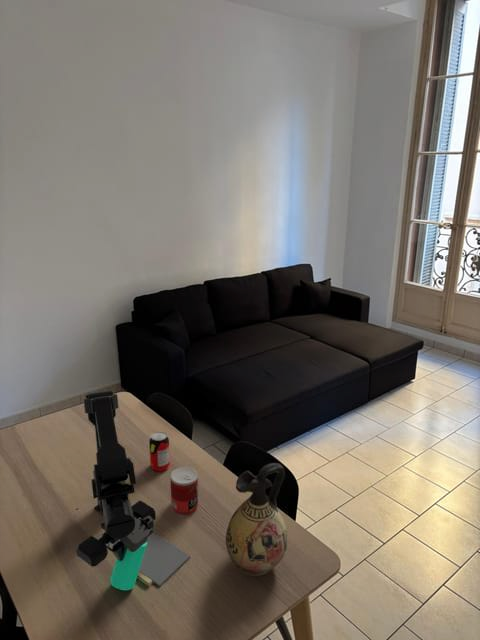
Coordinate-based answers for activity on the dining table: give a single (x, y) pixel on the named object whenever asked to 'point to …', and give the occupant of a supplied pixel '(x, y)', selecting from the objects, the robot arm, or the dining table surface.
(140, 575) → the strip
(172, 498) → the canned food
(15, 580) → the dining table surface
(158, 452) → the beverage can
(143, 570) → the mat
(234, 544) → the ceramic jug
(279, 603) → the dining table surface
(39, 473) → the dining table surface
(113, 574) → the candle
